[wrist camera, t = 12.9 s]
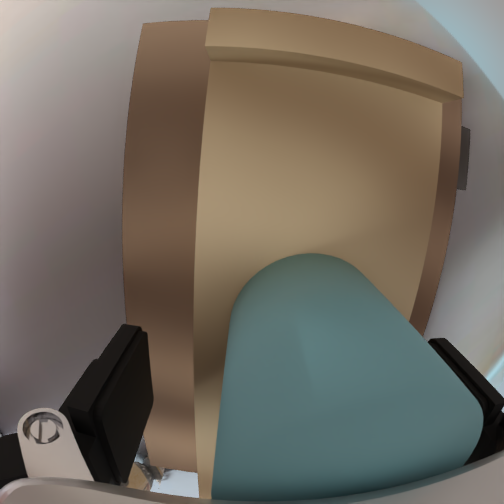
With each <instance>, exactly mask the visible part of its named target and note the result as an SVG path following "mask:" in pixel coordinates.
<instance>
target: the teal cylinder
mask: <svg viewBox="0 0 504 504" xmlns="http://www.w3.org/2000/svg"><path fill="white" fill-rule="evenodd" d="M482 428H483V412H482V408H481V406H480V404H479V402H478V401H477V400H476V398H475V397H474V396H473V395H472V393H471V392H470V391H469V390H468V389H467V387H466V386H465V385H464V384H463V383H462V381H461V380H460V379H459V378H458V377H457V376H456V374H455V373H454V372H453V371H452V370H451V369H450V367H449V366H448V365H447V364H446V363H445V362H444V360H443V359H442V358H441V357H440V356H439V355H438V354H437V352H436V351H435V350H434V349H433V348H432V347H431V346H430V345H429V343H428V342H427V341H426V340H425V339H424V338H423V337H422V336H421V335H420V334H419V332H418V331H417V330H416V329H415V328H414V327H413V326H412V325H411V324H410V323H409V322H408V320H407V319H406V318H405V317H404V316H403V315H402V314H401V313H400V312H399V311H398V310H397V309H396V308H395V307H394V306H393V304H392V303H391V302H390V301H389V300H388V299H387V298H386V297H385V296H384V295H383V294H382V293H381V292H380V291H379V290H378V289H377V288H376V287H375V286H374V285H373V284H372V283H371V282H370V281H369V280H368V279H367V278H366V277H365V276H364V275H363V274H362V273H361V272H360V271H359V270H358V269H357V268H356V267H354V266H353V265H351V264H350V263H348V262H346V261H344V260H342V259H340V258H337V257H334V256H331V255H325V254H317V253H307V254H298V255H293V256H289V257H286V258H283V259H280V260H277V261H275V262H273V263H271V264H269V265H268V266H266V267H265V268H263V269H262V270H260V271H259V272H257V273H256V274H255V275H254V276H253V277H252V278H251V279H250V280H249V281H248V282H247V283H246V284H245V286H244V287H243V288H242V290H241V291H240V293H239V294H238V296H237V298H236V300H235V302H234V305H233V308H232V312H231V317H230V324H229V332H228V341H227V349H226V358H225V367H224V375H223V384H222V393H221V402H220V411H219V420H218V430H217V439H216V449H215V458H214V468H213V478H212V488H211V498H212V499H214V500H228V501H296V500H311V499H322V498H331V497H340V496H347V495H354V494H360V493H366V492H371V491H377V490H382V489H386V488H391V487H395V486H400V485H404V484H408V483H412V482H415V481H419V480H423V479H426V478H430V477H433V476H436V475H439V474H443V473H446V472H449V471H452V470H455V469H457V468H460V467H462V466H463V465H464V464H465V462H466V461H467V460H468V458H469V457H470V455H471V454H472V452H473V450H474V449H475V447H476V445H477V443H478V440H479V438H480V435H481V431H482Z"/></svg>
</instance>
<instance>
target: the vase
mask: <svg viewBox="0 0 504 504" xmlns="http://www.w3.org/2000/svg"><path fill="white" fill-rule="evenodd" d="M164 470H165V468H162V467H157V466H152V465H151V464H150V460H149V456H148V457H146V458H145V459H144V461H143V464H141V463H139V462H134V463H133V466H132V469H131V472H130V475H129V478H128V481H127V483H121V485H120V486H122V487H128V488H133V489H139V490H145V491H150V490H151V487H152V484H153V480H154V479H156V481H157V482H159V483H158V484H159V486H160V483H161V480H162V477H163V473H164ZM158 489H159V488H158Z"/></svg>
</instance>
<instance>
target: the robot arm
mask: <svg viewBox="0 0 504 504" xmlns="http://www.w3.org/2000/svg"><path fill="white" fill-rule="evenodd" d="M428 343H429V345H430V346H431V347H432V348H433V349H434V350H435V351H436V352H437V354H438V355H439V356H440V357H441V358H442V359H443V360H444V362H445V363H446V364H447V365H448V366H449V367H450V369H451V370H452V371H453V372H454V373H455V374H456V376H457V377H458V378H459V379H460V380H461V381H462V383H463V384H464V385H465V386H466V387H467V389H468V390H469V391H470V392H471V393H472V395H473V396H474V397H475V398H476V400H477V401H478V402H479V404H480V406H481V408H482V412H483V428H482V431H481V435H480V438H479V440H478V443H477V445H476V447H475V449H474V450H473V452H472V454H471V455H470V457H469V458H468V460H467V461H466V462H465V464H464V465H463V466H462V467H460V468H457V469H455V470H452V471H449V472H446V473H443V474H439V475H436V476H433V477H430V478H426V479H423V480H419V481H415V482H412V483H408V484H404V485H400V486H395V487H391V488H386V489H382V490H377V491H371V492H366V493H360V494H354V495H347V496H340V497H331V498H322V499H311V500H296V501H228V500H214V499H202V498H192V497H183V496H176V495H168V494H162V493H156V492H150V491H145V490H139V489H133V488H128V487H122V486H120V485H121V483H127V481H128V478H129V475H130V472H131V469H132V466H133V463H134V460H135V456H136V453H137V450H138V447H139V444H140V441H141V438H142V435H143V432H144V430H145V427H146V424H147V421H148V418H149V415H150V412H151V409H152V406H153V401H154V395H153V386H152V377H151V368H150V357H149V345H148V334H147V332H145V331H142V328H141V326H135V325H128V324H123V325H122V326H121V327H120V329H119V330H118V332H117V333H116V334H115V336H114V337H113V339H112V340H111V341H110V343H109V344H108V346H107V347H106V348H105V350H104V351H103V353H102V354H101V356H100V357H99V358H98V359H95V360H93V361H92V362H91V364H90V365H89V366H88V368H87V369H86V371H85V372H84V374H83V375H82V376H81V378H80V379H79V381H78V382H77V384H76V385H75V387H74V388H73V390H72V391H71V392H70V394H69V395H68V397H67V398H66V400H65V401H64V403H63V404H62V406H61V407H60V409H59V410H58V411H57V410H54V409H51V408H37V409H34V410H31V411H29V412H27V413H26V414H24V415H23V416H22V418H21V419H20V420H19V423H18V425H17V433H14V434H10V435H6V436H2V435H1V433H0V504H504V413H503V412H502V411H501V410H502V408H503V407H504V398H503V397H502V396H501V394H500V393H498V391H497V390H496V389H495V388H494V387H493V386H492V385H491V384H490V383H489V382H488V381H487V380H486V379H485V377H484V376H483V375H482V374H481V373H480V372H479V371H478V370H477V369H476V368H475V367H474V366H473V365H472V364H471V363H470V362H469V361H468V360H467V359H466V358H465V357H464V356H463V355H462V354H461V353H460V352H459V351H458V350H457V349H456V348H455V347H454V346H453V345H452V344H451V343H450V342H449V341H448V340H447V339H445V338H434V339H430V340H429V341H428Z"/></svg>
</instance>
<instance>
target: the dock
mask: <svg viewBox="0 0 504 504" xmlns="http://www.w3.org/2000/svg"><path fill="white" fill-rule="evenodd" d="M208 22H209V20H191V21H168V22H155V23H144V24H143V26H142V31H141V36H140V41H139V46H138V51H137V57H136V62H135V68H134V75H133V81H132V88H131V96H130V103H129V112H128V121H127V131H126V143H125V156H124V173H123V199H122V253H123V279H124V296H125V309H126V321H127V324H128V325H135V326H141V328H142V331H145V332H147V334H148V345H149V357H150V368H151V377H152V386H153V395H154V401H153V406H152V409H151V412H150V415H149V418H148V421H147V424H146V427H145V430H144V432H143V434H144V439H145V443H146V448H147V452H148V456H149V460H150V464H151V465H152V466H157V467H162V468H168V469H174V470H181V471H187V472H195V473H198V471H197V455H196V435H195V410H194V364H193V317H194V269H195V242H196V221H197V203H198V187H199V173H200V159H201V147H202V136H203V125H204V115H205V105H206V95H207V86H208V78H209V70H210V62H211V61H210V58H209V56H208V53H207V50H206V48H205V41H206V35H207V28H208ZM461 119H462V99H458V100H454V101H450V102H446V103H442V133H441V150H440V163H439V173H438V183H437V191H436V199H435V206H434V213H433V219H432V225H431V231H430V236H429V242H428V247H427V252H426V257H425V261H424V266H423V270H422V275H421V279H420V283H419V287H418V291H417V295H416V299H415V302H414V306H413V310H412V313H411V317H410V320H409V323H410V324H411V325H412V326H413V327H414V328H415V329H416V330H417V331H418V332H419V334H420V335H421V336H422V337H423V335H424V332H425V329H426V325H427V322H428V319H429V316H430V313H431V309H432V306H433V302H434V299H435V295H436V292H437V288H438V284H439V280H440V276H441V272H442V268H443V264H444V259H445V255H446V250H447V245H448V240H449V235H450V229H451V224H452V218H453V211H454V205H455V197H456V190H457V189H460V190H466V183H467V173H468V162H469V147H470V129H468V128H465V127H462V126H461Z"/></svg>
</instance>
